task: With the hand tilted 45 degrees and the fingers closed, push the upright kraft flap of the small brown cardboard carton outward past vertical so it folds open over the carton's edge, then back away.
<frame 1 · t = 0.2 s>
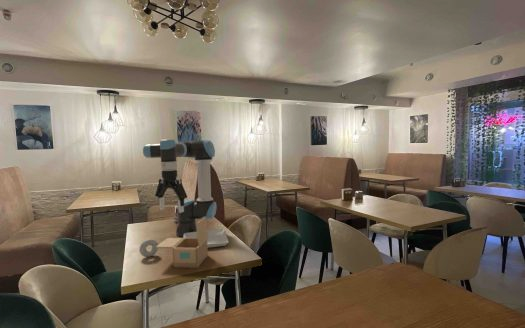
hand: (171, 211, 138), 28 cm above the table, tool pointing down, fingers open, 13 cm apart
donut: (149, 257, 150), on the table
carton: (191, 261, 142), on the table
flap: (202, 231, 140), point 16 cm above the table, hinge at 85.0°
square plate: (205, 243, 171), on the table
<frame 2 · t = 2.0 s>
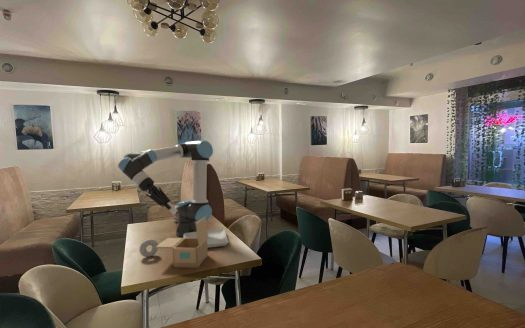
hand: (175, 212, 141), 26 cm above the table, tool tilted 45°, fingers closed
nothing on the table moved.
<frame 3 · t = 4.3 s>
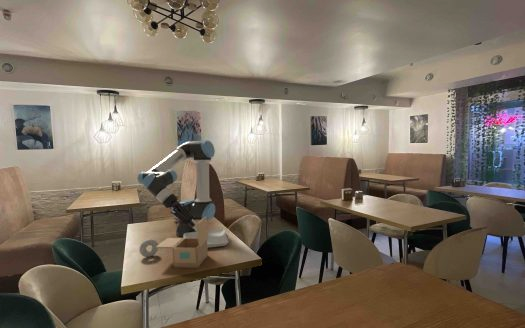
hand: (199, 229, 140), 17 cm above the table, tool tilted 45°, fingers closed
flap: (202, 231, 140), point 16 cm above the table, hinge at 87.5°, touching gripper
everything else where it was.
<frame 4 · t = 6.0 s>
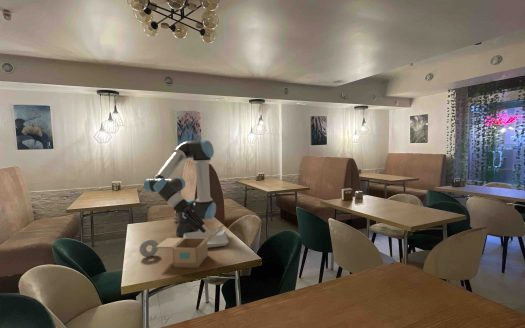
hand: (209, 235, 139), 14 cm above the table, tool tilted 45°, fingers closed
flap: (211, 235, 140), point 14 cm above the table, hinge at 140.8°, touching gripper
everything else where it was.
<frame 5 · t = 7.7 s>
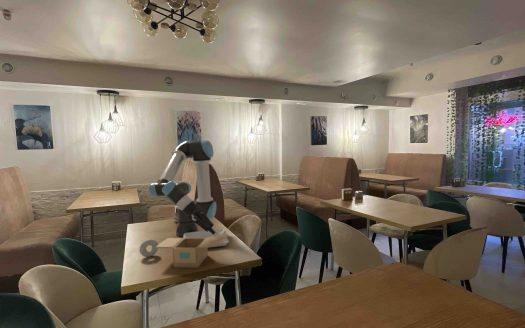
hand: (219, 237, 139), 13 cm above the table, tool tilted 45°, fingers closed
flap: (214, 240, 140), point 11 cm above the table, hinge at 168.5°, touching gripper
everything else where it was.
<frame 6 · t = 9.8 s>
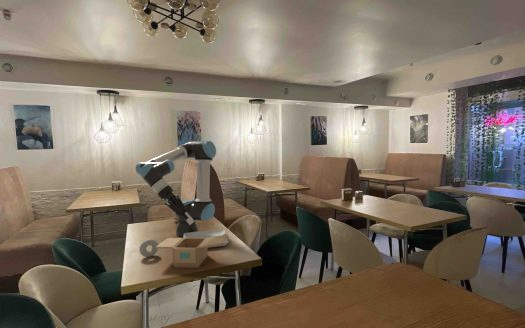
hand: (192, 223, 142), 20 cm above the table, tool tilted 40°, fingers closed
flap: (214, 240, 140), point 11 cm above the table, hinge at 168.5°
everything else where it was.
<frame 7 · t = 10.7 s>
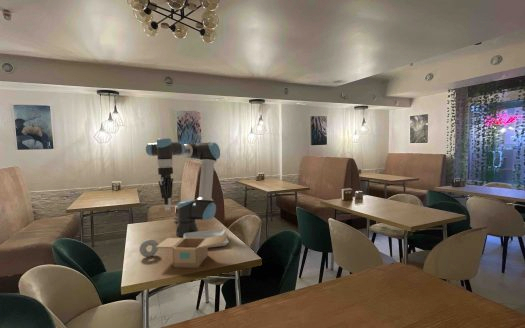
hand: (167, 209, 147), 26 cm above the table, tool pointing down, fingers closed
nothing on the table moved.
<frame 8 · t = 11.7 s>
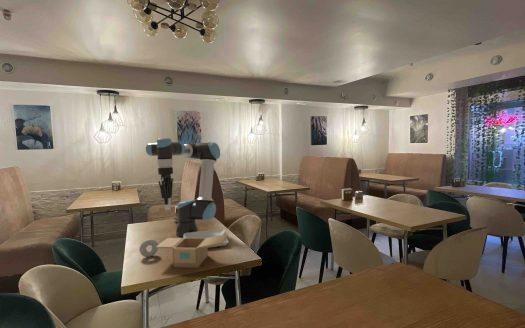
hand: (167, 209, 147), 26 cm above the table, tool pointing down, fingers closed
nothing on the table moved.
at the end: flap at +168° (first picture: +85°); the gripper is holding nothing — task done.
